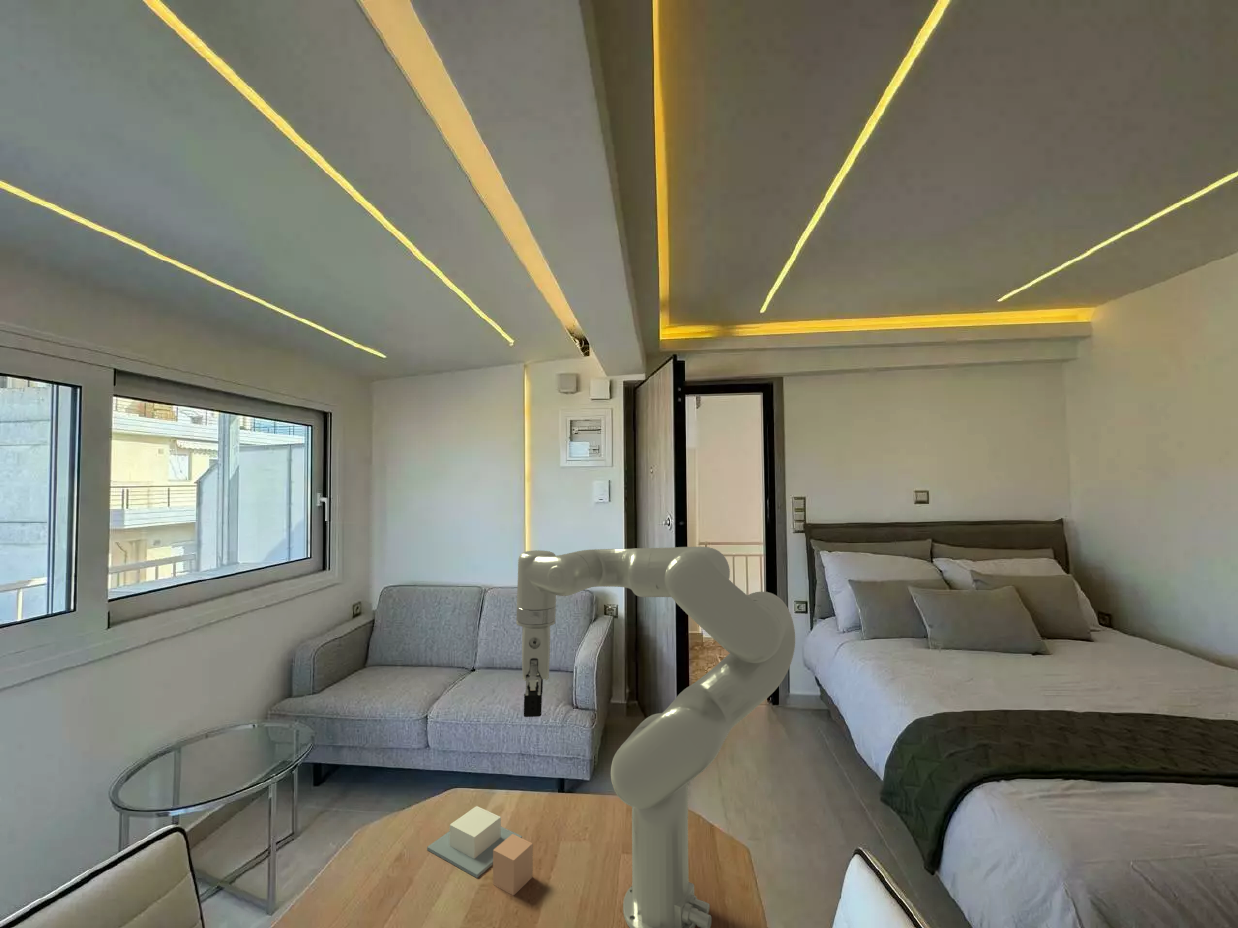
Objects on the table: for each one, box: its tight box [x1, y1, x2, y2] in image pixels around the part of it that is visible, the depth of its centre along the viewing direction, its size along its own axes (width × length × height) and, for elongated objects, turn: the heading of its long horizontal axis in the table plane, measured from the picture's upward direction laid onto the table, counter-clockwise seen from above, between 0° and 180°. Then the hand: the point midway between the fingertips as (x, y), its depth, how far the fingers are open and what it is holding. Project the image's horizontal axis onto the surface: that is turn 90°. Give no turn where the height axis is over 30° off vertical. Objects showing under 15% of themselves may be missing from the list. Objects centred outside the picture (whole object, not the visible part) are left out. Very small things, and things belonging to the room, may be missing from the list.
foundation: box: [426, 805, 523, 879], centre depth 100 cm, size 14×12×5 cm
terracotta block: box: [492, 834, 534, 897], centre depth 91 cm, size 5×5×6 cm
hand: (533, 704), depth 97 cm, fingers open, 9 cm apart
